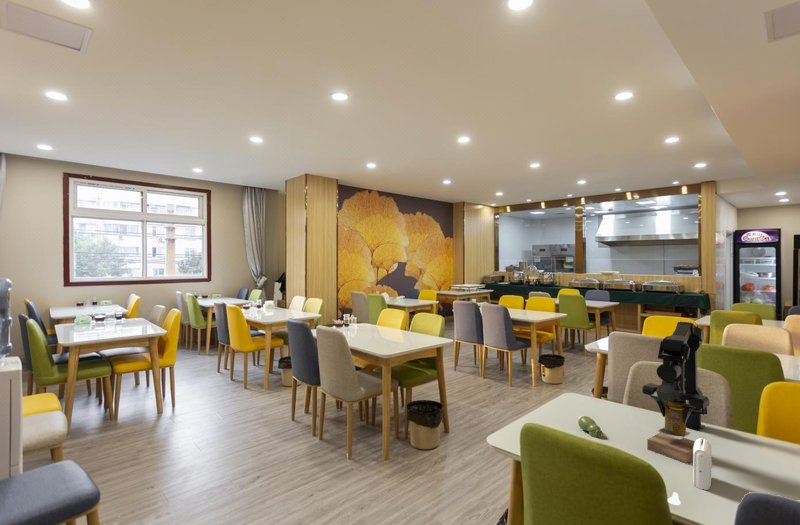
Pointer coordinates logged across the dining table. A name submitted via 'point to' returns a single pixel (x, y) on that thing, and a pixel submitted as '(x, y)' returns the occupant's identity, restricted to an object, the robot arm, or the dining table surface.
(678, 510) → the dining table surface
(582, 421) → the pear
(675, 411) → the condiment
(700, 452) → the photo printer
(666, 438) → the brown flat box
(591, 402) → the dining table surface
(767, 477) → the dining table surface
